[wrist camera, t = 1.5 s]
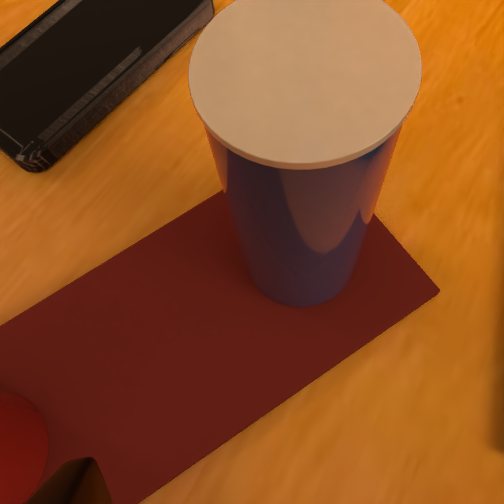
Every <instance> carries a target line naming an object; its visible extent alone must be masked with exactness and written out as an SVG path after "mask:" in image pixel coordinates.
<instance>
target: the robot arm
mask: <svg viewBox="0 0 504 504" xmlns="http://www.w3.org/2000/svg"><path fill="white" fill-rule="evenodd" d="M25 504H112V499H111V495H110V492H109V490H108V487H107V485H106V483H105V480H104V478H103V475H102V473H101V470H100V468H99V466H98V463H97V462H96V460H95V459H94V458H93V457H90V456H88V457H83V458H79V459H74V460H70V461H67V462H65V463H64V464H63V465H61V466H60V467H59V469H58V470H57V471H56V472H55V473H54V474H53V475H52V476H51V477H50V478H49V479H48V480H47V481H46V482H45V483H44V484H43V485H42V486H41V487H40V488H39V489H38V490H37V491H36V492H35V493H34V494H33V495H32V496H31V497H30V498H29V500H28V501H27V502H26V503H25Z"/></svg>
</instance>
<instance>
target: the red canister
mask: <svg viewBox="0 0 504 504" xmlns="http://www.w3.org/2000/svg"><path fill="white" fill-rule="evenodd" d="M48 446H49V445H48V434H47V428H46V425H45V422H44V420H43V418H42V416H41V414H40V412H39V411H38V409H37V408H36V407H35V406H34V405H33V404H32V403H31V402H30V401H29V400H27V399H26V398H24V397H23V396H21V395H18V394H15V393H12V392H7V391H1V390H0V504H24V503H25V502H26V500H27V499H28V498H29V497H30V496H31V494H32V493H33V491H34V490H35V488H36V487H37V485H38V483H39V481H40V479H41V477H42V474H43V472H44V469H45V466H46V462H47V456H48Z"/></svg>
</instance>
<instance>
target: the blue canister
mask: <svg viewBox="0 0 504 504" xmlns="http://www.w3.org/2000/svg"><path fill="white" fill-rule="evenodd" d="M421 75H422V62H421V54H420V50H419V47H418V44H417V41H416V39H415V37H414V35H413V32H412V31H411V29H410V28H409V26H408V25H407V23H406V22H405V20H404V19H403V18H402V17H401V16H400V15H399V14H398V13H397V12H396V11H395V10H394V9H393V8H391V7H390V6H389V5H388V4H387V3H385V2H384V1H382V0H236V1H234V2H232V3H231V4H229V5H228V6H227V7H225V8H224V9H223V10H221V11H220V12H219V13H218V14H217V15H216V16H215V17H214V18H213V19H212V20H211V21H210V22H209V24H208V25H207V26H206V27H205V28H204V30H203V31H202V33H201V35H200V36H199V38H198V40H197V42H196V44H195V46H194V48H193V51H192V55H191V58H190V62H189V70H188V82H189V89H190V94H191V98H192V101H193V104H194V107H195V109H196V112H197V114H198V116H199V118H200V120H201V121H202V123H203V125H204V127H205V130H206V134H207V137H208V141H209V144H210V147H211V151H212V154H213V158H214V161H215V164H216V168H217V171H218V175H219V178H220V181H221V185H222V188H223V192H224V195H225V198H226V202H227V205H228V209H229V212H230V215H231V219H232V222H233V226H234V229H235V232H236V236H237V239H238V243H239V246H240V249H241V253H242V256H243V260H244V263H245V266H246V270H247V272H248V275H249V277H250V279H251V280H252V282H253V283H254V285H255V286H256V287H257V288H258V289H259V290H260V291H261V292H262V293H263V294H264V295H266V296H267V297H268V298H270V299H272V300H274V301H276V302H278V303H281V304H284V305H288V306H294V307H307V306H313V305H317V304H320V303H323V302H326V301H327V300H329V299H331V298H333V297H334V296H336V295H337V294H338V293H339V292H340V291H341V290H342V289H344V287H345V286H346V285H347V284H348V282H349V280H350V279H351V277H352V275H353V272H354V270H355V267H356V264H357V261H358V258H359V255H360V252H361V249H362V246H363V243H364V240H365V237H366V234H367V231H368V228H369V224H370V221H371V218H372V215H373V212H374V209H375V206H376V203H377V200H378V197H379V194H380V191H381V188H382V185H383V182H384V179H385V176H386V173H387V170H388V167H389V164H390V161H391V158H392V155H393V152H394V149H395V146H396V143H397V140H398V137H399V134H400V131H401V128H402V125H403V122H404V121H405V119H406V118H407V116H408V114H409V113H410V111H411V109H412V107H413V104H414V102H415V100H416V97H417V94H418V91H419V87H420V82H421Z"/></svg>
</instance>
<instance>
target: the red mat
mask: <svg viewBox="0 0 504 504" xmlns="http://www.w3.org/2000/svg"><path fill="white" fill-rule="evenodd" d="M439 292H440V289H439V288H438V287H437V286H436V285H435V284H434V282H433V281H432V280H431V279H430V278H429V277H428V275H427V274H426V273H425V272H424V271H423V270H422V269H421V267H420V266H419V265H418V264H417V263H416V262H415V260H414V259H413V258H412V257H411V256H410V255H409V254H408V252H407V251H406V250H405V249H404V248H403V247H402V245H401V244H400V243H399V242H398V241H397V240H396V239H395V237H394V236H393V235H392V234H391V233H390V232H389V230H388V229H387V228H386V227H385V226H384V225H383V224H382V222H381V221H380V220H379V219H378V218H377V217H376V216H375V214H374V213H373V215H372V218H371V221H370V224H369V228H368V231H367V234H366V237H365V240H364V243H363V246H362V249H361V252H360V255H359V258H358V261H357V264H356V267H355V270H354V272H353V275H352V277H351V279H350V280H349V282H348V284H347V285H346V286H345V287H344V289H342V290H341V291H340V292H339V293H338V294H337V295H336V296H334V297H333V298H331V299H329V300H327V301H326V302H323V303H320V304H317V305H313V306H307V307H294V306H288V305H284V304H281V303H278V302H276V301H274V300H272V299H270V298H268V297H267V296H266V295H264V294H263V293H262V292H261V291H260V290H259V289H258V288H257V287H256V286H255V285H254V283H253V282H252V280H251V279H250V277H249V275H248V272H247V270H246V266H245V263H244V260H243V256H242V253H241V249H240V246H239V243H238V239H237V236H236V232H235V229H234V226H233V222H232V219H231V215H230V212H229V209H228V205H227V202H226V198H225V195H224V192H223V190H222V191H220V192H218V193H217V194H215V195H213V196H212V197H210V198H209V199H207V200H205V201H204V202H202V203H200V204H199V205H197V206H195V207H194V208H192V209H191V210H189V211H187V212H186V213H184V214H182V215H181V216H179V217H178V218H176V219H174V220H173V221H171V222H169V223H168V224H166V225H164V226H163V227H161V228H160V229H158V230H156V231H155V232H153V233H151V234H150V235H148V236H147V237H145V238H143V239H142V240H140V241H138V242H137V243H135V244H134V245H132V246H130V247H129V248H127V249H125V250H124V251H122V252H120V253H119V254H117V255H116V256H114V257H112V258H111V259H109V260H107V261H106V262H104V263H103V264H101V265H99V266H98V267H96V268H94V269H93V270H91V271H89V272H88V273H86V274H85V275H83V276H81V277H80V278H78V279H76V280H75V281H73V282H72V283H70V284H68V285H67V286H65V287H63V288H62V289H60V290H59V291H57V292H55V293H54V294H52V295H50V296H49V297H47V298H45V299H44V300H42V301H41V302H39V303H37V304H36V305H34V306H32V307H31V308H29V309H28V310H26V311H24V312H23V313H21V314H19V315H18V316H16V317H14V318H13V319H11V320H10V321H8V322H6V323H5V324H3V325H1V326H0V390H1V391H7V392H12V393H15V394H18V395H21V396H23V397H24V398H26V399H27V400H29V401H30V402H31V403H32V404H33V405H34V406H35V407H36V408H37V409H38V411H39V412H40V414H41V416H42V418H43V420H44V422H45V425H46V428H47V434H48V445H49V446H48V456H47V462H46V466H45V469H44V472H43V474H42V477H41V479H40V481H39V483H38V485H37V487H36V488H35V490H34V491H33V493H32V494H31V496H32V495H33V494H34V493H35V492H36V491H37V490H38V489H39V488H40V487H41V486H42V485H43V484H44V483H45V482H46V481H47V480H48V479H49V478H50V477H51V476H52V475H53V474H54V473H55V472H56V471H57V470H58V469H59V467H60V466H61V465H63V464H64V463H65V462H67V461H70V460H74V459H79V458H83V457H88V456H90V457H93V458H94V459H95V460H96V462H97V463H98V466H99V468H100V470H101V473H102V475H103V478H104V480H105V483H106V485H107V487H108V490H109V492H110V495H111V499H112V504H138V503H139V502H141V501H142V500H143V499H145V498H146V497H148V496H149V495H151V494H152V493H153V492H155V491H156V490H158V489H159V488H161V487H162V486H164V485H165V484H166V483H168V482H169V481H171V480H172V479H174V478H175V477H176V476H178V475H179V474H181V473H182V472H184V471H185V470H186V469H188V468H189V467H191V466H192V465H194V464H195V463H196V462H198V461H199V460H201V459H202V458H204V457H205V456H206V455H208V454H209V453H211V452H212V451H214V450H215V449H217V448H218V447H219V446H221V445H222V444H224V443H225V442H227V441H228V440H229V439H231V438H232V437H234V436H235V435H237V434H238V433H239V432H241V431H242V430H244V429H245V428H247V427H248V426H249V425H251V424H252V423H254V422H255V421H257V420H258V419H259V418H261V417H262V416H264V415H265V414H267V413H268V412H269V411H271V410H272V409H274V408H275V407H277V406H278V405H280V404H281V403H282V402H284V401H285V400H287V399H288V398H290V397H291V396H292V395H294V394H295V393H297V392H298V391H300V390H301V389H302V388H304V387H305V386H307V385H308V384H310V383H311V382H312V381H314V380H315V379H317V378H318V377H320V376H321V375H322V374H324V373H325V372H327V371H328V370H330V369H331V368H333V367H334V366H335V365H337V364H338V363H340V362H341V361H343V360H344V359H345V358H347V357H348V356H350V355H351V354H353V353H354V352H355V351H357V350H358V349H360V348H361V347H363V346H364V345H365V344H367V343H368V342H370V341H371V340H373V339H374V338H375V337H377V336H378V335H380V334H381V333H383V332H384V331H386V330H387V329H388V328H390V327H391V326H393V325H394V324H396V323H397V322H398V321H400V320H401V319H403V318H404V317H406V316H407V315H408V314H410V313H411V312H413V311H414V310H416V309H417V308H418V307H420V306H421V305H423V304H424V303H426V302H427V301H428V300H430V299H431V298H433V297H434V296H436V295H437V294H438V293H439ZM31 496H30V497H31ZM30 497H29V498H30ZM29 498H28V499H27V500H26V502H27V501H28V500H29ZM26 502H25V503H26ZM25 503H24V504H25Z"/></svg>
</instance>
